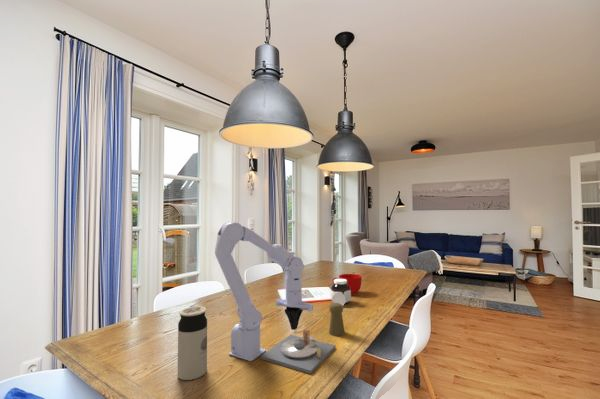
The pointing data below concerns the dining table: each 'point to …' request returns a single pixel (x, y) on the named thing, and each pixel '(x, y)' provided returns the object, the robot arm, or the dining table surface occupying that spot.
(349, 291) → the spread jar
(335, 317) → the cork
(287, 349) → the flange plate
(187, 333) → the travel mug
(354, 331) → the dining table surface
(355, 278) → the ceramic cup
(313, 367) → the turntable base
